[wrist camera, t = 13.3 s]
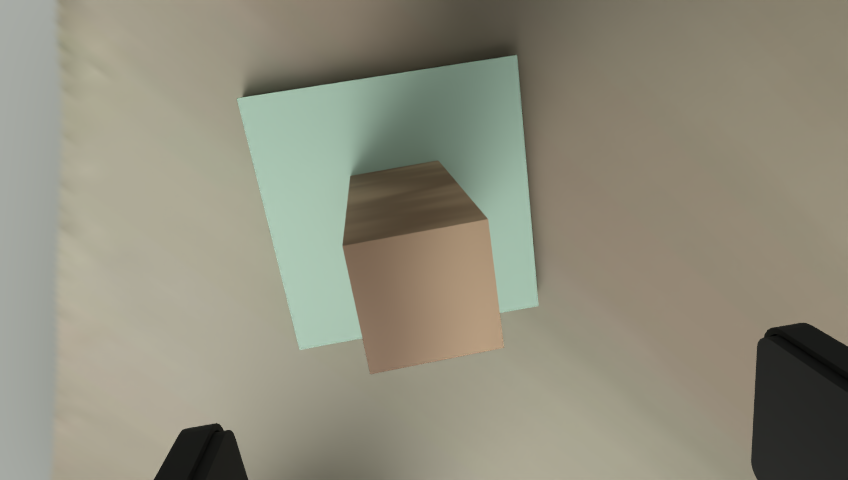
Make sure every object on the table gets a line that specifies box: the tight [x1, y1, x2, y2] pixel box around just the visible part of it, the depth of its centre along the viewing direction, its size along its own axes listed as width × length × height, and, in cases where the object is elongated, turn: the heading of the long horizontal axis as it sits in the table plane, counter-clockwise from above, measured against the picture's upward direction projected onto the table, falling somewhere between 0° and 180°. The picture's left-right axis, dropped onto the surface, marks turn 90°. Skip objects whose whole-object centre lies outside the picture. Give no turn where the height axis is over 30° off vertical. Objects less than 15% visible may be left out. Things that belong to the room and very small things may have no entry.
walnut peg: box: [342, 160, 504, 374], centre depth 20 cm, size 4×4×10 cm
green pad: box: [237, 55, 538, 350], centre depth 25 cm, size 12×12×1 cm
